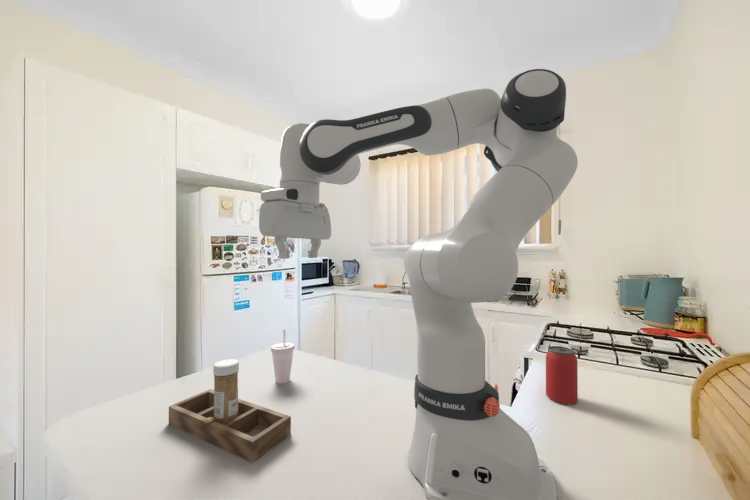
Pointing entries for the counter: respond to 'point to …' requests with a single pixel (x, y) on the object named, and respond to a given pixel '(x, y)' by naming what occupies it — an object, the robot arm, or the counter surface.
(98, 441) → the counter surface
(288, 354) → the smoothie
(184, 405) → the spice caddy
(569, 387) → the beer can
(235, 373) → the sprinkles bottle
